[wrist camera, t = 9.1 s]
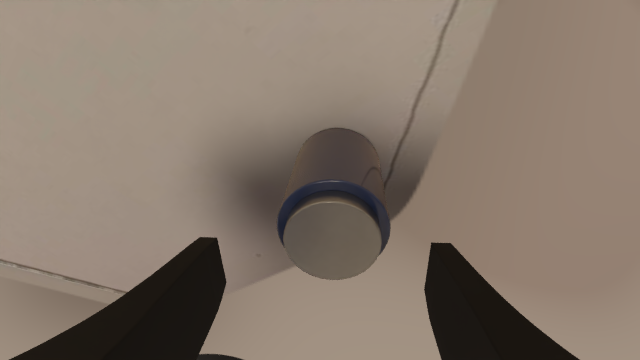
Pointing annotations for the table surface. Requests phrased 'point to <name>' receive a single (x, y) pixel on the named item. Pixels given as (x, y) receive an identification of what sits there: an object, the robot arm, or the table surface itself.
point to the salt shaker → (334, 206)
